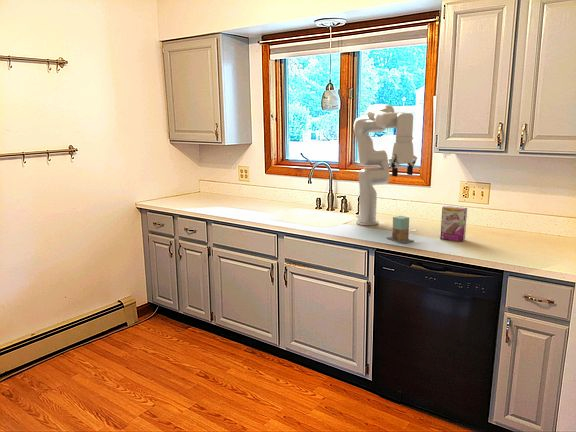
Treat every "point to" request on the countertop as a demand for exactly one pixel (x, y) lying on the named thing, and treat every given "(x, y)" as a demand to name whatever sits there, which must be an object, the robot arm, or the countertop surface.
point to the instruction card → (412, 229)
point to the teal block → (401, 222)
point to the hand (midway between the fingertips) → (402, 175)
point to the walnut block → (400, 234)
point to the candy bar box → (453, 223)
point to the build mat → (401, 241)
